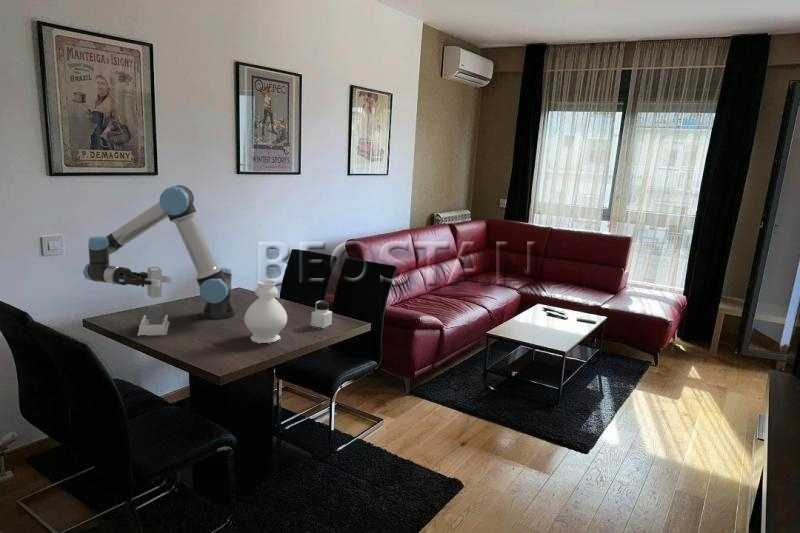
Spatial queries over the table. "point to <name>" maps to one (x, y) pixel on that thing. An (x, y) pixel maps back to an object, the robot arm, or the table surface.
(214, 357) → the table surface
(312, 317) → the medicine bottle
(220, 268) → the robot arm
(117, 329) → the table surface
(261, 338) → the decorative vase
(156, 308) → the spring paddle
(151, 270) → the skincare box
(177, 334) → the table surface
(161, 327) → the white rectangular tray
